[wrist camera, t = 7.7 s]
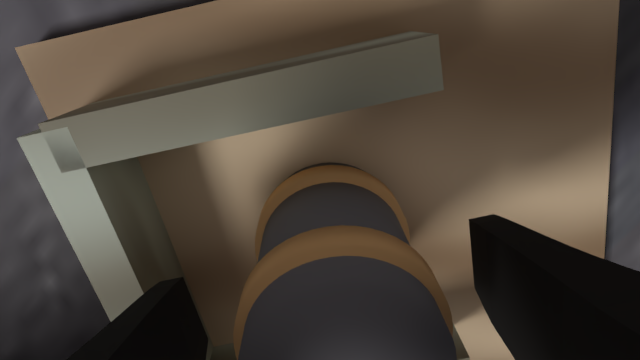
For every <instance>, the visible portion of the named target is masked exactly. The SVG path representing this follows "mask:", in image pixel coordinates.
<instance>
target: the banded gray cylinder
mask: <svg viewBox="0 0 640 360" xmlns="http://www.w3.org/2000/svg"><path fill="white" fill-rule="evenodd" d="M255 253H256V259H257V264H256V266H255V267H254V269H253V270H252V272H251V273H250V275H249V277H248V279H247V281H246V283H245V285H244V288H243V291H242V294H241V298H240V302H239V306H238V311H237V315H236V319H235V324H234V331H233V344H234V350H235V355H236V358H237V360H457V355H456V348H455V344H454V341H453V338H452V337H453V322H452V314H451V311H450V307H449V304H448V302H447V300H446V298H445V296H444V294H443V292H442V290H441V288H440V286H439V284H438V282H437V280H436V278H435V276H434V274H433V272H432V270H431V268H430V267H429V265H428V264H427V262H426V261H425V260H424V259H423V257H422V256H421V255H420V254H419V253H418V252H417V251H416V250H414V249H413V248H412V247H411V246H410V233H409V227H408V224H407V221H406V218H405V216H404V214H403V212H402V210H401V208H400V206H399V204H398V202H397V200H396V198H395V197H394V195H393V194H392V192H391V191H390V190H389V189H388V188H387V187H386V185H385V184H383V183H382V182H381V181H380V180H378V179H377V178H375V177H374V176H372V175H371V174H369V173H367V172H365V171H363V170H361V169H359V168H357V167H355V166H351V165H348V164H343V163H333V162H328V163H319V164H314V165H311V166H308V167H305V168H303V169H301V170H299V171H297V172H295V173H294V174H292V175H291V176H289V177H288V178H287V179H286V180H285V181H284V182H282V183H281V184H280V185H279V186H278V187H277V188H276V189H275V190H274V191H273V192H272V193H271V195H270V196H269V198H268V199H267V201H266V202H265V205H264V207H263V209H262V211H261V215H260V218H259V222H258V226H257V230H256V236H255Z"/></svg>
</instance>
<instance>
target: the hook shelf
mask: <svg viewBox="0 0 640 360" xmlns="http://www.w3.org/2000/svg"><path fill="white" fill-rule="evenodd" d="M619 1H620V0H216V1H212V2H208V3H203V4H199V5H195V6H191V7H186V8H182V9H178V10H174V11H169V12H165V13H161V14H157V15H152V16H148V17H144V18H140V19H135V20H131V21H127V22H122V23H118V24H114V25H110V26H105V27H101V28H97V29H93V30H88V31H84V32H80V33H76V34H71V35H67V36H63V37H59V38H54V39H50V40H46V41H42V42H37V43H33V44H29V45H24V46H20V47H16V48H15V49H16V52H17V54H18V56H19V58H20V60H21V62H22V64H23V66H24V69H25V71H26V73H27V75H28V77H29V79H30V81H31V83H32V85H33V88H34V90H35V92H36V94H37V96H38V98H39V100H40V102H41V104H42V107H43V109H44V111H45V113H46V115H47V117H48V119H49V120H47V121H44V122H42V123H39V124H38V125H39V128H40V129H38V130H36V131H33V132H31V133H28V134H26V135H23V136H21V137H18V138H17V140H18V142H19V144H20V145H21V147H22V149H23V151H24V153H25V155H26V157H27V159H28V161H29V163H30V165H31V167H32V169H33V171H34V173H35V175H36V177H37V179H38V181H39V183H40V185H41V187H42V188H43V190H44V192H45V194H46V196H47V198H48V200H49V202H50V204H51V206H52V208H53V210H54V212H55V214H56V216H57V218H58V220H59V222H60V224H61V226H62V228H63V230H64V231H65V233H66V235H67V237H68V239H69V241H70V243H71V245H72V247H73V249H74V251H75V253H76V255H77V257H78V259H79V261H80V263H81V265H82V267H83V269H84V271H85V273H86V274H87V276H88V278H89V280H90V282H91V284H92V286H93V288H94V290H95V292H96V294H97V296H98V298H99V300H100V302H101V304H102V306H103V308H104V310H105V312H106V314H107V316H108V317H109V319H110V321H111V322H112V321H113V320H114V319H115V318H116V317H117V316H119V315H120V314H121V313H122V312H123V311H124V310H125V309H127V308H128V307H129V306H130V305H131V304H132V303H133V302H135V301H136V300H137V299H138V298H139V297H140V296H142V295H143V294H144V293H145V292H147V291H148V290H149V289H150V288H152V287H153V286H154V285H156V284H157V283H158V282H160V281H165V280H170V279H175V278H179V277H183V278H184V280H185V283H186V285H187V288H188V290H189V293H190V295H191V297H192V300H193V302H194V305H195V307H196V310H197V312H198V315H199V317H200V320H201V322H202V325H203V327H204V329H205V332H206V334H207V337H208V347H207V354H206V360H237V358H236V355H235V350H234V344H233V331H234V324H235V319H236V315H237V311H238V306H239V302H240V298H241V294H242V291H243V288H244V285H245V283H246V281H247V279H248V277H249V275H250V273H251V272H252V270H253V269H254V267H255V266H256V264H257V259H256V253H255V236H256V230H257V226H258V222H259V218H260V215H261V211H262V209H263V207H264V205H265V202H266V201H267V199H268V198H269V196H270V195H271V193H272V192H273V191H274V190H275V189H276V188H277V187H278V186H279V185H280V184H281V183H282V182H284V181H285V180H286V179H287V178H288V177H289V176H291V175H292V174H294V173H295V172H297V171H299V170H301V169H303V168H305V167H308V166H311V165H314V164H319V163H328V162H333V163H343V164H348V165H351V166H355V167H357V168H359V169H361V170H363V171H365V172H367V173H369V174H371V175H372V176H374V177H375V178H377V179H378V180H380V181H381V182H382V183H383V184H385V185H386V187H387V188H388V189H389V190H390V191H391V192H392V194H393V195H394V197H395V198H396V200H397V202H398V204H399V206H400V208H401V210H402V212H403V214H404V216H405V218H406V221H407V224H408V227H409V233H410V246H411V247H412V248H413V249H414V250H416V251H417V252H418V253H419V254H420V255H421V256H422V257H423V259H424V260H425V261H426V262H427V264H428V265H429V267H430V268H431V270H432V272H433V274H434V276H435V278H436V280H437V282H438V284H439V286H440V288H441V290H442V292H443V294H444V296H445V298H446V300H447V302H448V304H449V307H450V311H451V314H452V322H453V337H452V338H453V341H454V344H455V348H456V355H457V360H515V359H514V357H513V356H512V354H511V353H510V351H509V350H508V348H507V346H506V345H505V343H504V342H503V340H502V339H501V337H500V336H499V334H498V333H497V331H496V329H495V328H494V326H493V325H492V323H491V321H490V319H489V317H488V315H487V313H486V311H485V309H484V307H483V305H482V303H481V301H480V299H479V296H478V294H477V292H476V290H475V288H474V277H473V265H472V253H471V241H470V229H469V219H472V218H477V217H482V216H487V215H492V214H495V215H498V216H501V217H503V218H506V219H508V220H511V221H513V222H515V223H518V224H520V225H522V226H525V227H527V228H529V229H531V230H534V231H536V232H538V233H541V234H543V235H545V236H548V237H550V238H552V239H555V240H557V241H559V242H562V243H564V244H566V245H569V246H571V247H574V248H576V249H579V250H581V251H584V252H586V253H589V254H592V255H594V256H597V257H600V258H602V259H604V254H605V237H606V221H607V204H608V187H609V170H610V153H611V136H612V119H613V102H614V85H615V68H616V51H617V34H618V17H619Z"/></svg>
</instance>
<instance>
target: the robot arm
mask: <svg viewBox="0 0 640 360" xmlns="http://www.w3.org/2000/svg"><path fill="white" fill-rule="evenodd" d="M469 229H470V241H471V253H472V265H473V277H474V288H475V290H476V292H477V294H478V296H479V299H480V301H481V303H482V305H483V307H484V309H485V311H486V313H487V315H488V317H489V319H490V321H491V323H492V325H493V326H494V328H495V329H496V331H497V333H498V334H499V336H500V337H501V339H502V340H503V342H504V343H505V345H506V346H507V348H508V350H509V351H510V353H511V354H512V356H513V357H514V359H515V360H640V272H639V271H636V270H633V269H630V268H627V267H624V266H621V265H619V264H616V263H613V262H611V261H608V260H605V259H602V258H600V257H597V256H594V255H592V254H589V253H586V252H584V251H581V250H579V249H576V248H574V247H571V246H569V245H566V244H564V243H562V242H559V241H557V240H555V239H552V238H550V237H548V236H545V235H543V234H541V233H538V232H536V231H534V230H531V229H529V228H527V227H525V226H522V225H520V224H518V223H515V222H513V221H511V220H508V219H506V218H503V217H501V216H498V215H495V214H492V215H487V216H482V217H477V218H472V219H469ZM207 347H208V337H207V334H206V332H205V329H204V327H203V325H202V322H201V320H200V317H199V315H198V312H197V310H196V307H195V305H194V302H193V300H192V297H191V295H190V293H189V290H188V288H187V285H186V283H185V280H184V278H183V277H179V278H175V279H170V280H165V281H160V282H158V283H157V284H156V285H154V286H153V287H152V288H150V289H149V290H148V291H147V292H145V293H144V294H143V295H142V296H140V297H139V298H138V299H137V300H136V301H135V302H133V303H132V304H131V305H130V306H129V307H128V308H127V309H125V310H124V311H123V312H122V313H121V314H120V315H119V316H117V317H116V318H115V319H114V320H113V321H112V322H111V323H109V324H108V325H107V326H106V327H105V328H104V329H102V330H101V331H100V332H99V333H98V334H97V335H96V336H94V337H93V338H92V339H91V340H90V341H89V342H87V343H86V344H85V345H84V346H83V347H81V348H80V349H79V350H78V351H76V352H75V353H74V354H73V355H72V356H70V357H69V358H68V359H67V360H206V354H207Z"/></svg>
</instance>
